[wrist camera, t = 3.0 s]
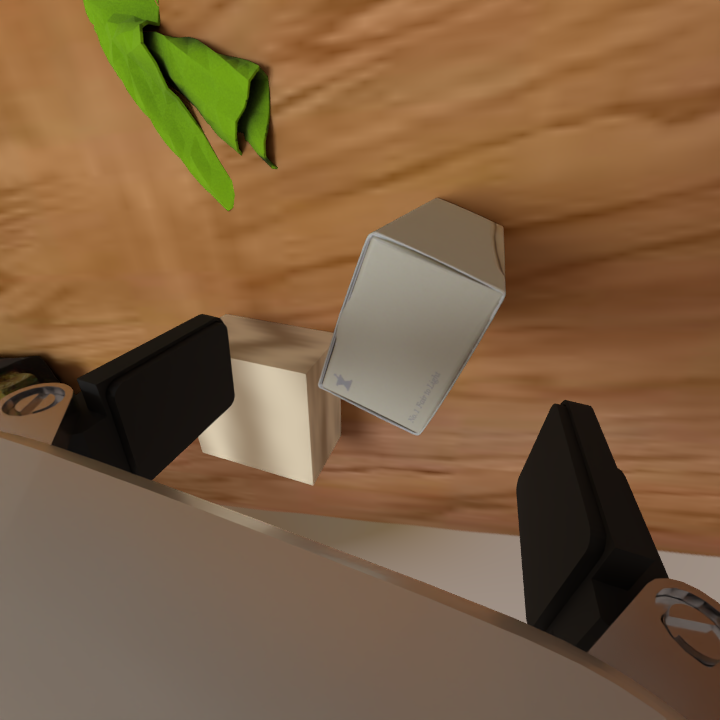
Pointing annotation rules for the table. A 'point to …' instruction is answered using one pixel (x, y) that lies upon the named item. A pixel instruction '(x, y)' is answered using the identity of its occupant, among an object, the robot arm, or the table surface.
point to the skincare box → (415, 312)
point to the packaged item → (23, 374)
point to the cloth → (185, 88)
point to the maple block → (276, 401)
